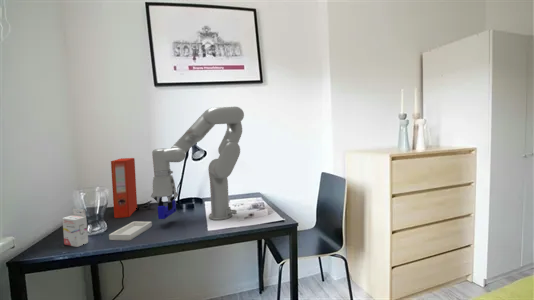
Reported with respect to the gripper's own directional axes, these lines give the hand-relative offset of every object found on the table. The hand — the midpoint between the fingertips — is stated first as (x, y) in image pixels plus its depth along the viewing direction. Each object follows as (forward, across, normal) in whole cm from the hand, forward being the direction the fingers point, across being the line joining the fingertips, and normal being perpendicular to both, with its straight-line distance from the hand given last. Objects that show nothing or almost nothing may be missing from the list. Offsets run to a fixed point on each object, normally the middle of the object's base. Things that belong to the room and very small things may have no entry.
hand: (165, 209), depth 133 cm
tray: (+8, +12, +11) cm, 18 cm away
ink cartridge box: (+7, +29, +24) cm, 38 cm away
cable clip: (+3, 0, 0) cm, 3 cm away
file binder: (+8, +36, -19) cm, 42 cm away
